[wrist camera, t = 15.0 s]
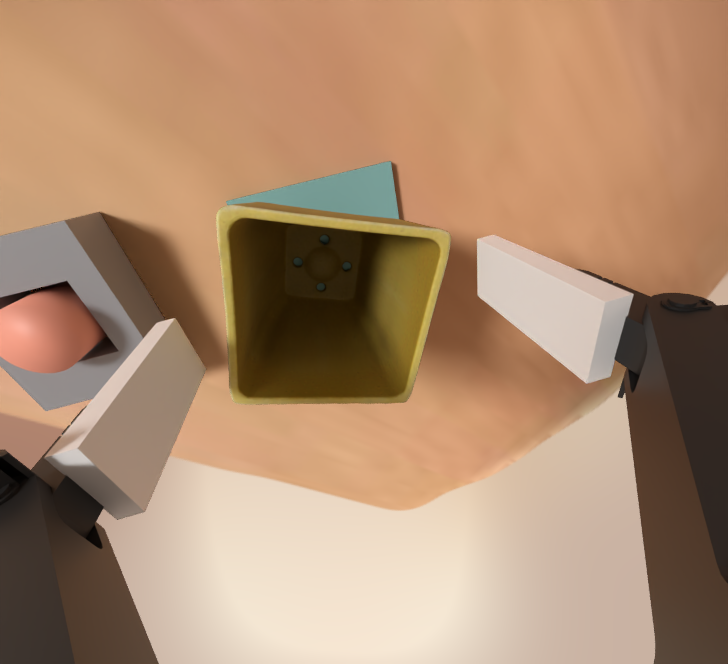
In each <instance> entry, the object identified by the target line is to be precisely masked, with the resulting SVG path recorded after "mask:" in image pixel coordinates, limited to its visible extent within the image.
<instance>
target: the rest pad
mask: <svg viewBox="0 0 728 664" xmlns="http://www.w3.org/2000/svg"><path fill="white" fill-rule="evenodd" d="M252 202H265V203H272V204H279V205H286V206H293V207H301V208H308V209H315V210H323V211H330V212H338V213H346V214H355V215H364V216H373V217H383V218H393V219H399V215H398V208H397V201H396V194H395V187H394V180H393V173H392V166H391V161H388V162H384V163H380V164H376V165H372V166H368V167H364V168H360V169H356V170H352V171H347V172H343V173H339V174H335V175H331V176H327V177H323V178H319V179H315V180H311V181H307V182H302V183H298V184H294V185H290V186H286V187H282V188H278V189H274V190H270V191H266V192H262V193H258V194H253V195H249V196H245V197H241V198H237V199H233V200H229V201H226V203H227V205H233V204H241V203H252ZM320 241H321V243H323V244H327V243H328V242H329V238H328V236H326V235H323V236H321V238H320ZM294 264H295V265H297V266H300V265H302V260H301V259H300V258H295V259H294ZM350 268H351V264H350V263H348V262H345V263H344V264H343V269H344V270H349V269H350ZM324 288H325V285H324V284H323V283H319V284H318V285H317V289H318V290H324Z"/></svg>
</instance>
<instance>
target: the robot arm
mask: <svg viewBox="0 0 728 664" xmlns="http://www.w3.org/2000/svg"><path fill="white" fill-rule="evenodd" d="M477 285H478V296H479V297H480V298H481V299H482V300H483V301H485V302H486V303H487V304H488V305H490V306H491V307H492V308H493V309H495V310H496V311H497V312H498V313H500V314H501V315H502V316H503V317H504V318H506V319H507V320H508V321H509V322H511V323H512V324H513V325H514V326H516V327H517V328H518V329H519V330H521V331H522V332H523V333H524V334H526V335H527V336H528V337H529V338H530V339H532V340H533V341H534V342H535V343H537V344H538V345H539V346H540V347H542V348H543V349H544V350H545V351H547V352H548V353H549V354H550V355H552V356H553V357H554V358H555V359H556V360H558V361H559V362H560V363H561V364H563V365H564V366H565V367H566V368H568V369H569V370H570V371H571V372H573V373H574V374H575V375H576V376H577V377H579V378H580V379H581V380H582V381H584V382H585V383H586V384H588V383H591V382H595V381H598V380H601V379H605V378H608V377H611V373H612V370H613V366H614V363H615V360H616V361H618V362H619V363H621V364H622V365H624V366H625V367H627V368H626V371H625V375H624V378H623V381H622V384H621V388H620V391H619V394H618V397H619V398H623V395H624V393H626V402H627V410H628V419H629V426H630V435H631V443H632V452H633V460H634V468H635V476H636V483H637V493H638V501H639V509H640V516H641V526H642V534H643V542H644V550H645V558H646V567H647V575H648V583H649V591H650V600H651V607H652V616H653V623H654V632H655V659H654V664H728V305H720V306H717V305H715V304H714V303H713V302H712V301H709V300H707V299H705V298H702V297H698V296H694V295H690V294H681V293H663V294H658V295H654V296H652V297H650V296H647V295H645V294H642V293H640V292H638V291H635V290H633V289H630V288H628V287H625V286H623V285H621V284H618V283H613V281H611V280H608V279H606V278H602V277H601V276H599V275H596V274H594V273H592V272H589V271H584V270H579V269H574V268H571V267H569V266H566V265H564V264H562V263H559V262H557V261H555V260H552V259H550V258H548V257H545V256H543V255H541V254H538V253H536V252H534V251H531V250H529V249H526V248H524V247H522V246H519V245H517V244H515V243H512V242H510V241H508V240H505V239H503V238H501V237H498V236H496V235H490V236H486V237H482V238H479V239H477ZM205 371H206V368H205V366H204V364H203V363H202V361H201V359H200V358H199V356H198V355H197V353H196V351H195V350H194V348H193V346H192V345H191V343H190V341H189V340H188V338H187V336H186V335H185V333H184V331H183V330H182V328H181V326H180V325H179V323H178V321H177V320H176V318H173V319H169V320H165V321H161V322H157V323H156V324H155V325H154V327H153V328H152V329H151V330H150V331H149V333H148V334H147V335H146V336H145V337H144V339H143V340H142V341H141V342H140V343H139V345H138V346H137V347H136V348H135V349H134V350H133V352H132V353H131V354H130V355H129V356H128V358H127V359H126V360H125V361H124V362H123V364H122V365H121V366H120V367H119V368H118V370H117V371H116V372H115V373H114V374H113V376H112V377H111V378H110V379H109V380H108V382H107V383H106V384H105V385H104V386H103V388H102V389H101V390H100V391H99V392H98V393H97V395H96V396H95V397H94V398H93V399H92V401H91V402H90V403H89V404H88V405H87V406H86V407H85V408H84V409H82V410H81V411H80V413H79V414H78V415H77V416H76V417H75V419H74V420H73V421H72V422H71V425H69V426H68V427H67V428H66V429H65V430H64V432H63V433H62V436H60V437H58V439H57V440H56V441H55V442H54V444H53V445H52V446H51V447H50V448H49V449H48V451H47V452H46V453H45V454H44V455H43V456H42V458H41V459H40V460H39V461H38V462H37V464H36V465H35V466H34V467H33V468H32V469H31V470H30V469H28V468H27V467H26V466H25V465H23V464H22V463H21V462H20V461H18V460H17V459H16V458H14V457H13V456H12V455H11V454H10V453H8V452H7V451H6V450H0V664H159V663H158V661H157V658H156V656H155V654H154V651H153V649H152V646H151V643H150V641H149V639H148V636H147V634H146V631H145V629H144V626H143V624H142V621H141V619H140V616H139V614H138V611H137V609H136V606H135V604H134V602H133V599H132V596H131V594H130V591H129V589H128V586H127V584H126V581H125V579H124V576H123V574H122V571H121V569H120V566H119V564H118V562H117V559H116V557H115V554H114V552H113V549H112V547H111V544H110V542H109V539H108V537H107V534H106V532H105V530H104V528H102V526H100V525H99V524H98V523H97V522H96V521H97V519H98V517H99V515H100V513H101V511H102V510H103V508H104V509H105V510H106V511H107V512H109V513H110V514H111V515H112V516H113V517H114V518H116V519H117V520H118V519H122V518H125V517H129V516H132V515H136V514H139V513H142V512H145V510H146V508H147V506H148V504H149V501H150V499H151V497H152V494H153V492H154V490H155V487H156V485H157V483H158V480H159V478H160V476H161V473H162V471H163V468H164V466H165V464H166V462H167V459H168V457H169V455H170V453H171V450H172V448H173V446H174V443H175V441H176V439H177V436H178V434H179V432H180V429H181V427H182V425H183V422H184V420H185V418H186V415H187V413H188V411H189V408H190V406H191V404H192V401H193V399H194V397H195V394H196V392H197V390H198V387H199V385H200V383H201V380H202V378H203V376H204V373H205Z"/></svg>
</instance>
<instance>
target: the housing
mask: <svg viewBox="0 0 728 664" xmlns="http://www.w3.org/2000/svg"><path fill="white" fill-rule="evenodd" d="M64 281H68V283H69V284H70V285H71V287H72V288H73V289H74V291H75V292H76V294H77V295H78V296H79V298H80V299H81V300H82V302H83V303H84V304H85V306H86V307H87V308H88V310H89V311H90V312H91V314H92V315H93V317H94V318H95V319H96V321H97V322H98V323H99V325H100V326H101V327H102V329H103V330H104V331H105V333H106V334H107V336H108V337H105V338H104V339H103V340H101V341H100V342H99V343H98V344H97V345H96V346H95V347H94V348H92V349H91V350H90V351H89V352H88V353H87V354H86V355H85V356H83V357H82V358H81V359H80V360H79V361H78V362H77V363H75V364H74V365H73V366H72V367H70V368H69V369H67V370H65V371H61V372H57V373H37V372H32V371H28V370H25V369H22V368H19V367H17V366H15V365H13V364H11V363H9V362H8V361H6V360H4V359H3V358H2V357H0V366H1V367H2V368H3V369H4V370H5V371H6V372H7V373H8V374H9V375H10V376H11V377H12V378H13V379H14V380H15V381H16V382H17V383H18V384H19V385H20V386H21V387H22V388H23V389H24V390H25V391H26V392H27V393H28V394H29V395H30V396H31V397H32V398H33V399H34V400H35V401H36V402H37V403H38V404H39V405H40V406H41V407H42V408H43V409H44V410H45V411H49V410H52V409H56V408H60V407H64V406H67V405H71V404H75V403H79V402H82V401H86V400H90V399H93V398H94V397H95V396H96V395H97V393H98V392H99V391H100V390H101V389H102V388H103V386H104V385H105V384H106V383H107V382H108V380H109V379H110V378H111V377H112V376H113V374H114V373H115V372H116V371H117V370H118V368H119V367H120V366H121V365H122V364H123V362H124V361H125V360H126V359H127V358H128V356H129V355H130V354H131V353H132V352H133V350H134V349H135V348H136V347H137V346H138V345H139V343H140V342H141V341H142V340H143V339H144V337H145V336H146V335H147V334H148V333H149V331H150V330H151V329H152V328H153V327H154V325H155V324H156V323H157V322H161V321H165V319H164V317H163V316H162V314H161V312H160V311H159V309H158V307H157V306H156V304H155V302H154V301H153V299H152V297H151V296H150V294H149V292H148V291H147V289H146V288H145V286H144V284H143V283H142V281H141V279H140V278H139V276H138V274H137V273H136V271H135V269H134V268H133V266H132V265H131V263H130V261H129V260H128V258H127V256H126V255H125V253H124V251H123V250H122V248H121V246H120V245H119V243H118V242H117V240H116V238H115V237H114V235H113V233H112V232H111V230H110V228H109V227H108V225H107V223H106V222H105V220H104V219H103V217H102V215H101V214H100V212H97V213H93V214H89V215H85V216H81V217H76V218H72V219H68V220H64V221H60V222H56V223H52V224H47V225H43V226H39V227H35V228H31V229H27V230H23V231H19V232H14V233H10V234H6V235H2V236H0V309H2V308H4V307H6V306H8V305H10V304H12V303H14V302H16V301H18V300H20V299H22V298H24V297H26V296H28V295H31V294H32V293H31V292H30V291H29V290H32V289H36V288H40V287H44V286H48V285H52V284H56V283H60V282H64Z"/></svg>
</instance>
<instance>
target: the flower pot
mask: <svg viewBox="0 0 728 664" xmlns="http://www.w3.org/2000/svg"><path fill="white" fill-rule="evenodd" d="M216 228H217V239H218V249H219V256H220V265H221V273H222V285H223V294H224V303H225V313H226V329H227V347H228V365H229V389H230V394H231V397H232V400H233V402H234V403H236V404H245V405H262V404H330V403H337V404H348V403H363V404H373V403H385V404H387V403H404V402H406V401H407V400H408V399H409V397H410V395H411V393H412V390H413V387H414V383H415V380H416V376H417V373H418V369H419V365H420V361H421V357H422V353H423V349H424V346H425V342H426V339H427V335H428V331H429V327H430V323H431V319H432V315H433V312H434V308H435V305H436V301H437V297H438V293H439V290H440V286H441V283H442V280H443V276H444V272H445V269H446V265H447V261H448V256H449V251H450V245H451V235H450V233H449V232H447V231H445V230H442V229H438V228H434V227H429V226H425V225H421V224H417V223H413V222H409V221H405V220H401V219H393V218H383V217H373V216H364V215H355V214H346V213H338V212H330V211H323V210H315V209H308V208H301V207H293V206H286V205H279V204H272V203H265V202H252V203H241V204H233V205H227V206H224V207H222V208H221V209H219V211H218V212H217V215H216ZM323 235H326V236H328V238H329V242H328V243H327V244H323V243H321V241H320V238H321V236H323ZM295 258H300V259H301V260H302V265H300V266H297V265H295V264H294V259H295ZM345 262H348V263H350V264H351V268H350V269H349V270H344V269H343V264H344V263H345ZM319 283H323V284H324V285H325V288H324V290H318V289H317V285H318V284H319Z"/></svg>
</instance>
